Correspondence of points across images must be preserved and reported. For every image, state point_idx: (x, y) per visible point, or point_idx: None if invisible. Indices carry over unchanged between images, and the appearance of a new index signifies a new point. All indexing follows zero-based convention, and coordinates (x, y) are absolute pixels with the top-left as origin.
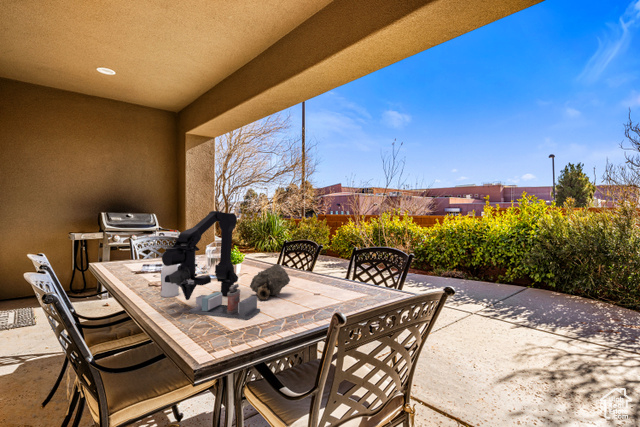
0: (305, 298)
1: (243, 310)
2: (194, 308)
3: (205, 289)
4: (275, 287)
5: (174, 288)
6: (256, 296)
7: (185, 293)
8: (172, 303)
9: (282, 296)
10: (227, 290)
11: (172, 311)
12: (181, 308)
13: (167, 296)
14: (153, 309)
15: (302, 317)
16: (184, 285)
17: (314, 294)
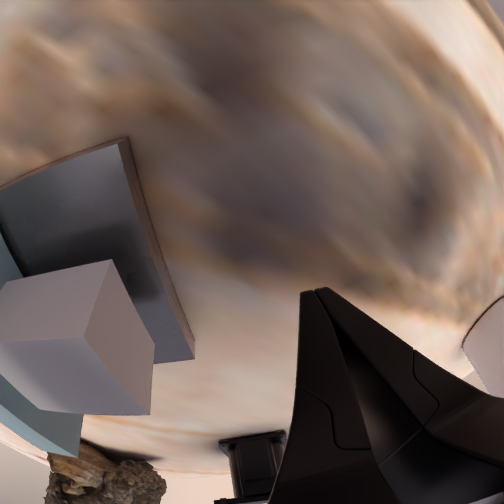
0: (21, 442)
1: None
2: (117, 216)
3: None
4: (56, 477)
5: (491, 356)
6: None
7: (362, 351)
8: (454, 260)
9: None
10: (237, 463)
11: (352, 97)
12: (335, 207)
13: (494, 306)
14: (495, 111)
15: None
16: (446, 477)
17: (43, 457)
